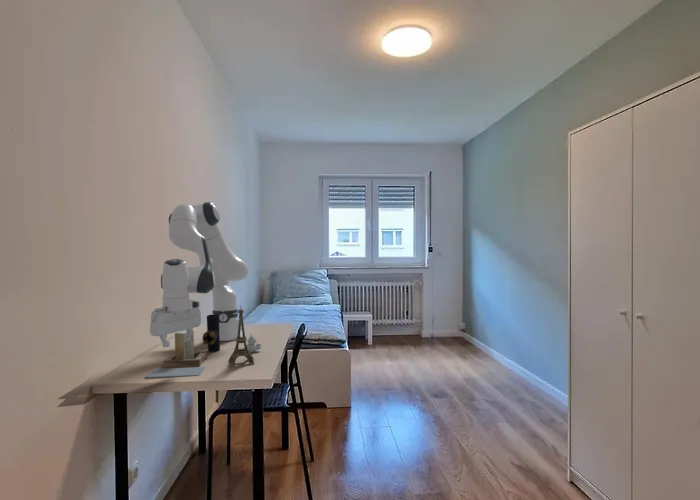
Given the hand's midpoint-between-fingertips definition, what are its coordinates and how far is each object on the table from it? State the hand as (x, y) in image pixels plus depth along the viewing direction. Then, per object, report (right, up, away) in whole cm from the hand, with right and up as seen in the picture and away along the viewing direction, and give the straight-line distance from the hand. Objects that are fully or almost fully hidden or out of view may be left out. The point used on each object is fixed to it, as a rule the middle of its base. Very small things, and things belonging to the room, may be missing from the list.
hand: (176, 343), depth 160 cm
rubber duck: (+21, -10, +30) cm, 38 cm away
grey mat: (0, -10, 0) cm, 10 cm away
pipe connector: (+3, -10, +31) cm, 32 cm away
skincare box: (-2, -10, +14) cm, 18 cm away
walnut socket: (-2, -10, +14) cm, 17 cm away
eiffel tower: (+20, -10, +12) cm, 26 cm away
